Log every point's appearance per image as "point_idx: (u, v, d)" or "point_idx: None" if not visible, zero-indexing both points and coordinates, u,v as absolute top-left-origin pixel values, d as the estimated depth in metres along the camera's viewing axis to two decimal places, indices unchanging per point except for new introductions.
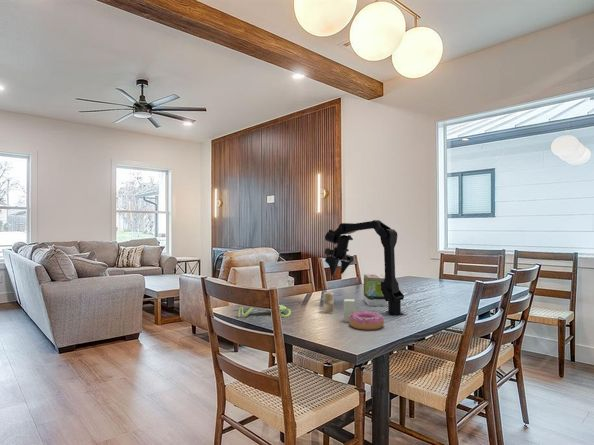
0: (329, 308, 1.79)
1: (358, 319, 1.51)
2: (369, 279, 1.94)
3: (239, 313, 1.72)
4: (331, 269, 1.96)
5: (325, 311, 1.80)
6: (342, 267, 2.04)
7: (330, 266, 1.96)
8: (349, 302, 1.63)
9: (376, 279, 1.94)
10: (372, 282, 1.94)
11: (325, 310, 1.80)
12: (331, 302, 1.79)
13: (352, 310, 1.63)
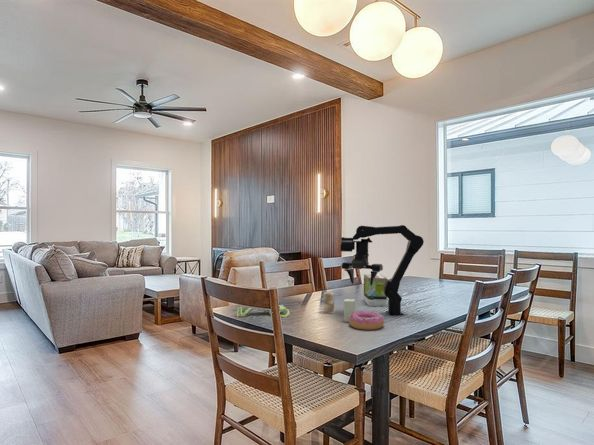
0: (329, 308, 1.79)
1: (358, 319, 1.51)
2: (369, 279, 1.94)
3: (238, 312, 1.73)
4: (373, 278, 1.77)
5: (325, 311, 1.80)
6: (352, 276, 1.81)
7: (374, 275, 1.76)
8: (349, 302, 1.63)
9: (376, 279, 1.94)
10: None
11: (325, 310, 1.80)
12: (331, 302, 1.79)
13: (352, 310, 1.63)
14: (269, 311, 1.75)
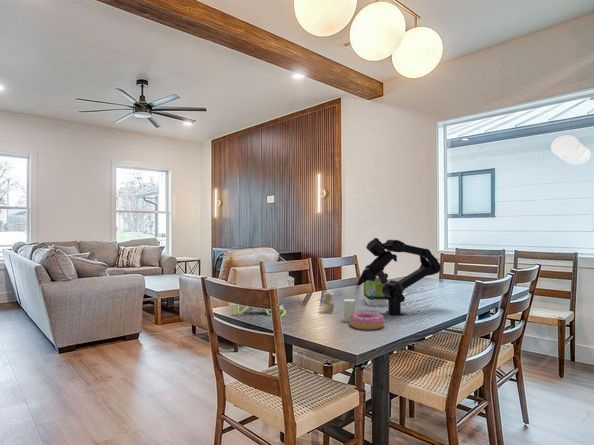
0: (329, 308, 1.79)
1: (358, 319, 1.51)
2: None
3: (235, 311, 1.76)
4: None
5: (325, 311, 1.80)
6: None
7: None
8: (349, 302, 1.63)
9: (376, 279, 1.94)
10: (372, 282, 1.94)
11: (325, 310, 1.80)
12: (331, 302, 1.79)
13: (352, 310, 1.63)
14: (266, 311, 1.75)
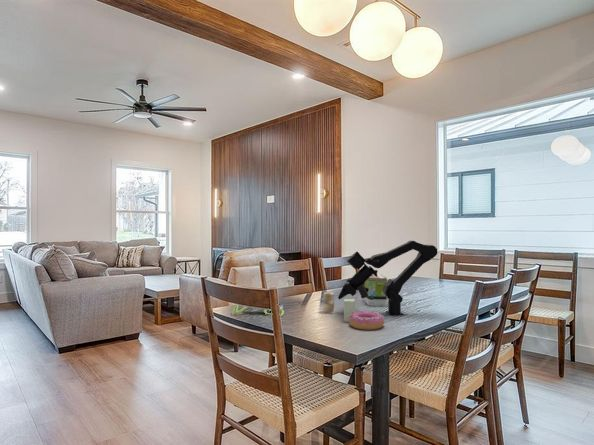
0: (329, 308, 1.79)
1: (358, 319, 1.51)
2: (369, 279, 1.94)
3: (233, 310, 1.77)
4: None
5: (325, 311, 1.80)
6: None
7: None
8: (349, 302, 1.63)
9: (376, 279, 1.94)
10: (372, 282, 1.94)
11: (325, 310, 1.80)
12: (331, 302, 1.79)
13: (352, 310, 1.63)
14: (264, 311, 1.76)
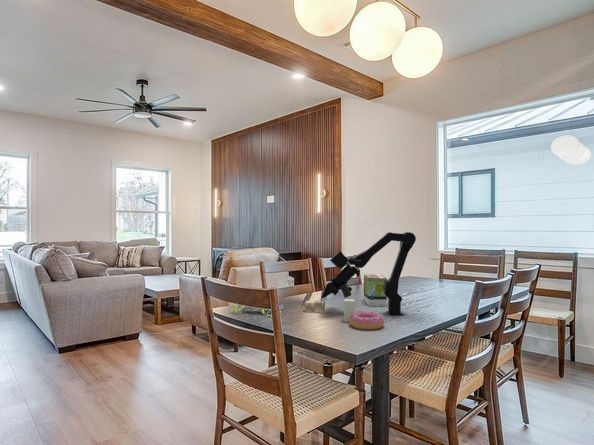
0: (319, 306, 1.80)
1: (358, 319, 1.51)
2: (369, 279, 1.94)
3: (232, 309, 1.80)
4: None
5: (322, 310, 1.80)
6: None
7: None
8: (349, 302, 1.63)
9: (376, 279, 1.94)
10: (372, 282, 1.94)
11: (321, 310, 1.80)
12: (313, 304, 1.81)
13: (352, 310, 1.63)
14: None
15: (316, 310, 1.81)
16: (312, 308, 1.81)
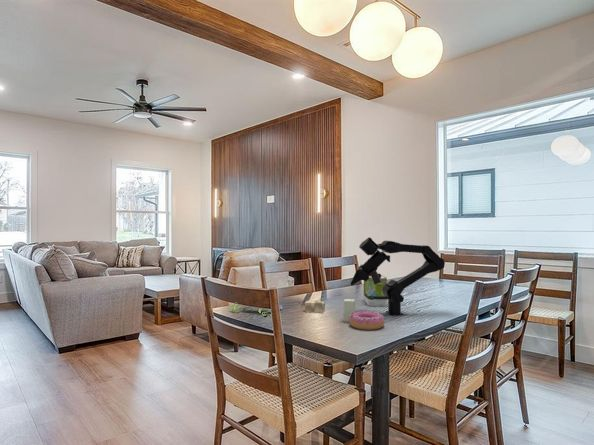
0: (319, 306, 1.80)
1: (358, 319, 1.52)
2: (369, 279, 1.94)
3: (232, 308, 1.83)
4: None
5: (322, 310, 1.80)
6: None
7: None
8: (349, 302, 1.63)
9: None
10: (372, 282, 1.94)
11: (321, 310, 1.80)
12: (313, 304, 1.81)
13: (352, 310, 1.63)
14: (258, 310, 1.78)
15: (316, 310, 1.81)
16: (312, 308, 1.81)
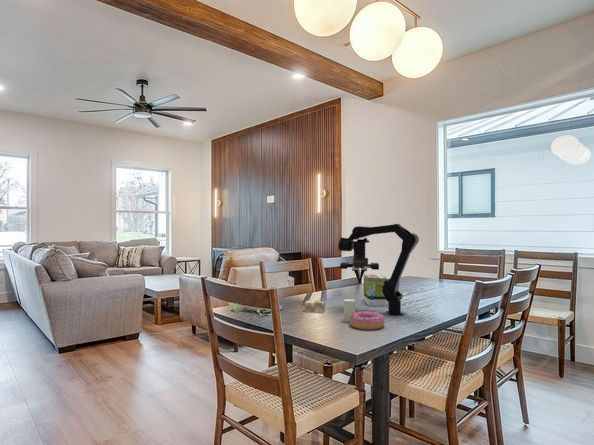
0: (319, 306, 1.80)
1: (358, 319, 1.52)
2: (369, 279, 1.94)
3: (232, 307, 1.85)
4: None
5: (322, 310, 1.80)
6: None
7: (363, 273, 1.85)
8: (349, 302, 1.63)
9: (376, 279, 1.94)
10: (372, 282, 1.94)
11: (321, 310, 1.80)
12: (313, 304, 1.81)
13: (352, 310, 1.63)
14: (257, 309, 1.79)
15: (316, 310, 1.81)
16: (312, 308, 1.81)
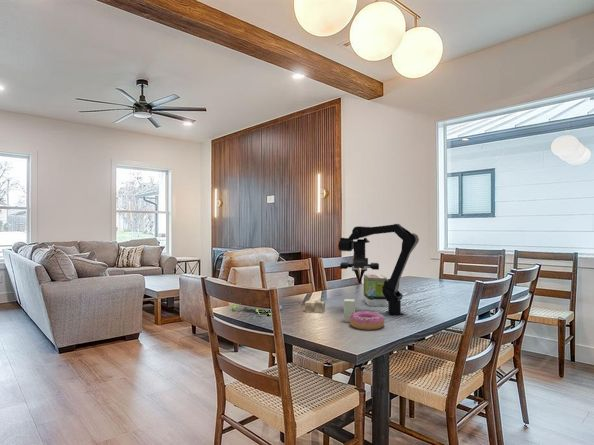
0: (319, 306, 1.80)
1: (358, 319, 1.52)
2: (369, 279, 1.94)
3: (232, 306, 1.87)
4: None
5: (322, 310, 1.80)
6: None
7: (363, 273, 1.85)
8: (349, 302, 1.63)
9: (376, 279, 1.94)
10: (372, 282, 1.94)
11: (321, 310, 1.80)
12: (313, 304, 1.81)
13: (352, 310, 1.63)
14: (256, 309, 1.79)
15: (316, 310, 1.81)
16: (312, 308, 1.81)
